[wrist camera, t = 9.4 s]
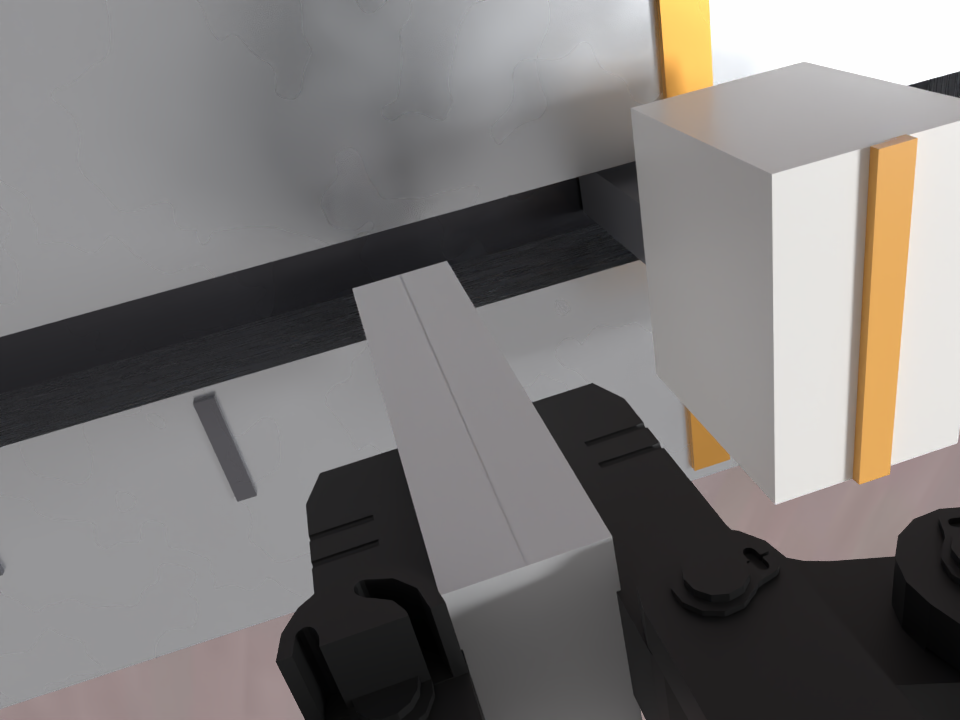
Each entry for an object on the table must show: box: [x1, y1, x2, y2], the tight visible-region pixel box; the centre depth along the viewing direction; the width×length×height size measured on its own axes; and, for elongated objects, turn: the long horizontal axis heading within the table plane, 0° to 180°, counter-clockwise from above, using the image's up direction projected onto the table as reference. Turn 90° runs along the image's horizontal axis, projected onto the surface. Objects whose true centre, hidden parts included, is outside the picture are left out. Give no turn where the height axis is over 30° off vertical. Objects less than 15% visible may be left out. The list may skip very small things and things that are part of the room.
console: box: [0, 0, 960, 709], centre depth 16 cm, size 14×28×3 cm, turn 101°
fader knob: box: [579, 62, 960, 505], centre depth 14 cm, size 5×3×8 cm, turn 12°
